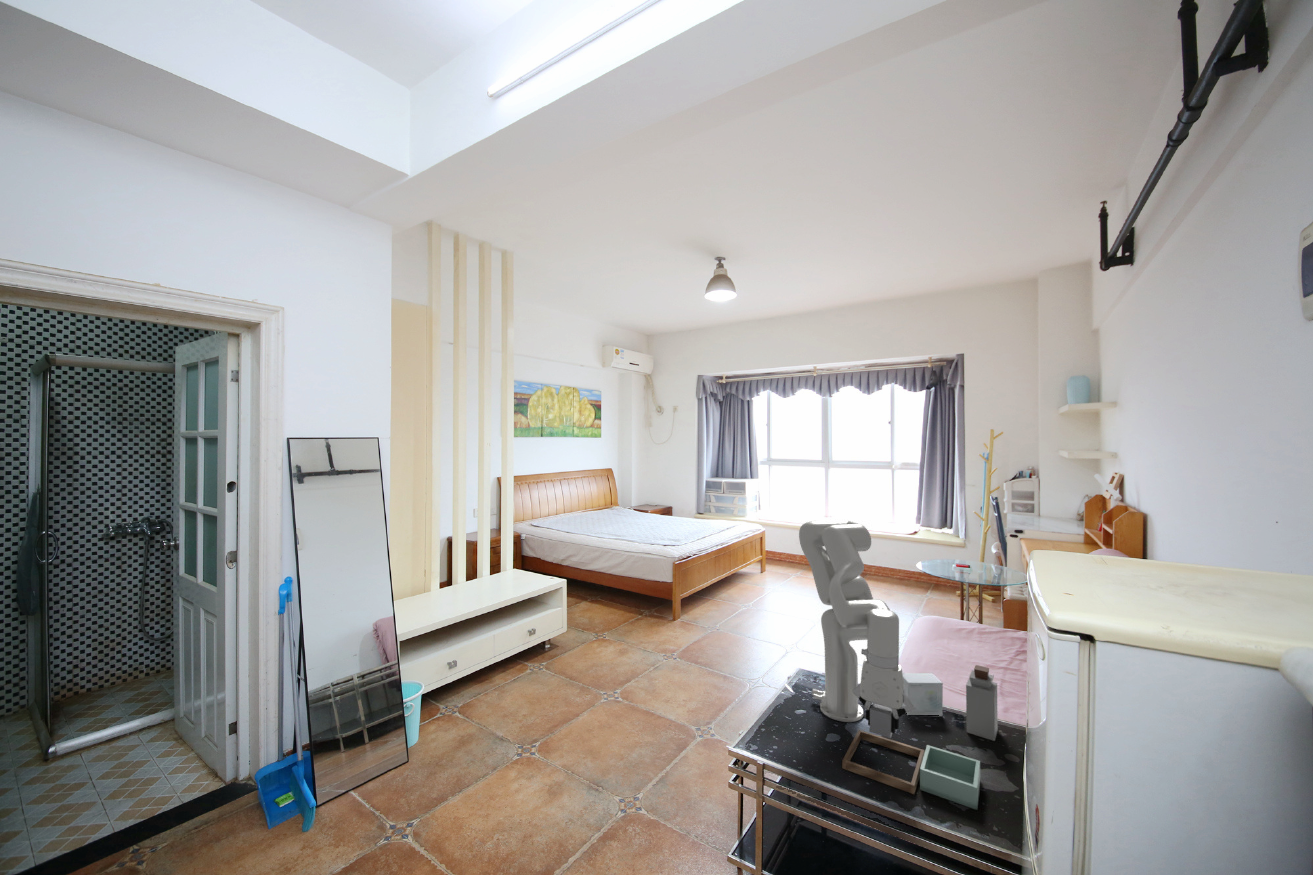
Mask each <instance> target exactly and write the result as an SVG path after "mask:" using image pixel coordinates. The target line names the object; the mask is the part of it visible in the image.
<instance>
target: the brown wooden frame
mask: <svg viewBox="0 0 1313 875" xmlns="http://www.w3.org/2000/svg"><path fill="white" fill-rule="evenodd" d="M861 740H862V741H866V742H869V743H872V744H876V745H879V746H881V747H885V748H888V749H890V750H893V751H897V752H900V753H904V754H907V755H910V756H912V757H915V758H918V759H917V762H916V765H915V769H914V771H913V776H912V779H911V781H907V780H904V779H902V778H899V777H895V776H893V775H890V774H887V773H885V772H881V771H879V770H875V769H873V768H870V767H867V766H865V765H861V764H859V763H856V762H854V761H851V760H852V757H853V756H854V754H855V752H856V750H857V748H858V746H859V744H860V742H861ZM925 750H926V749H921V748H919V747H916V746H912V745H909V744H906V743H902V742H899V741H897V740H894V739H891V738H888V737H885V736H882V735H879V734H875V733H872V732H868V731H865V730H861V729H858V730H857V732H856V734H855V736H854V738H853V740H852V741H851V743H850V745H849V747H848V749H847V751H846V753H845V755H844V757H843V759H842V762H841V763H842V764H841V765H842V766H841V767H842V769H844V770H846V771H849V772H852V773H854V774H858V775H860V776H862V777H866V778H868V779H871V780H873V781H876V782H879V783H882V784H884V785H888V786H891V787H893V788H896V789H898V790H901V791H904V792H907V793H910V794H912V795H915V793H916V789H917V786H918V782H919V781H920V767H921V764H922V760H923V757H924V753H925Z"/></svg>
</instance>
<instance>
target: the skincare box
mask: <svg viewBox="0 0 1313 875" xmlns="http://www.w3.org/2000/svg"><path fill="white" fill-rule="evenodd" d="M902 673H903V680H904V693H905V695H906V696H907V697H908V699H909V700H910V702H911V703H912V704H913V706H914V708H913V710H912V711H910V712H908V713H907V714H906V715H907V716H908V715H939V716H938V717H943V705H944V704H943V697H944V695H943V692H944V690H943V689H944V688H943V687H944V686H943V685H944V683H943V681H942V680H940V679H939V677H937V676H936V675H935V674H934V673H932V672H929V673H927V672H925V673H924V672H918V673H917V672H902ZM903 706H905V704H904V703H903V705H902V707H903Z"/></svg>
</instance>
